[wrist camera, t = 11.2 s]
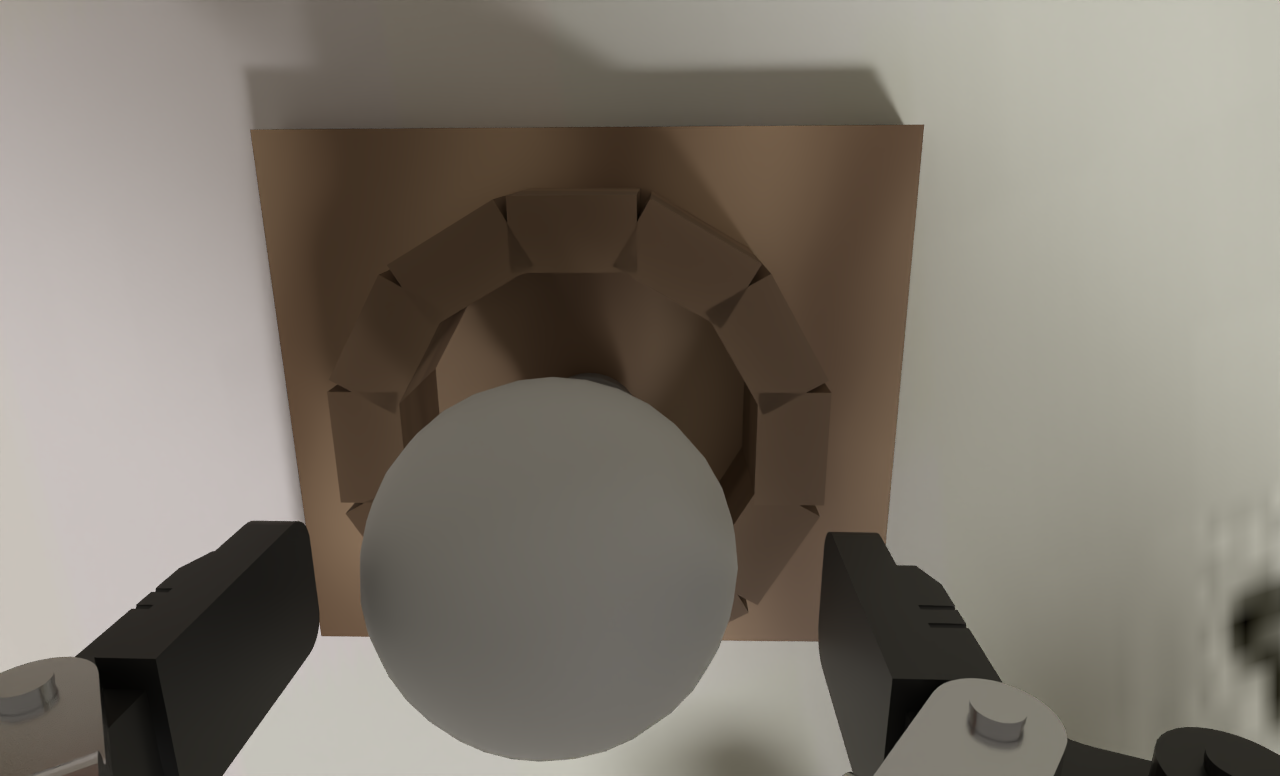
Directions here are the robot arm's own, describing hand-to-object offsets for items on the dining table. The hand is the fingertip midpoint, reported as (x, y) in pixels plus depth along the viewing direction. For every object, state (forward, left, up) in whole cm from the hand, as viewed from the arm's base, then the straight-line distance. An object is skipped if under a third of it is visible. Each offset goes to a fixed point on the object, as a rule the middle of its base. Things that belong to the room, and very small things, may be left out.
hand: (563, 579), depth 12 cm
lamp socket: (0, 0, -10) cm, 10 cm away
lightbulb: (0, 0, -9) cm, 9 cm away
